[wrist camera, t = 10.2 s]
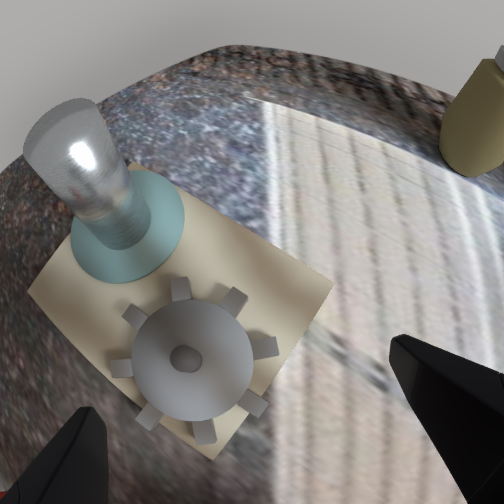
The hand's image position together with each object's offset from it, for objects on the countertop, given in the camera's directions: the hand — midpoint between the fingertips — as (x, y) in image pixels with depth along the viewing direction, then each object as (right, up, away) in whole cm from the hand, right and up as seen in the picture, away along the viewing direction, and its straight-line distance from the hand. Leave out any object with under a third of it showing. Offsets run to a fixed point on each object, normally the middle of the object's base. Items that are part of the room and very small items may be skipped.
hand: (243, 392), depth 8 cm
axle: (-10, +6, +16) cm, 20 cm away
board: (-6, +1, +15) cm, 16 cm away
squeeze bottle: (+23, +14, +20) cm, 34 cm away
